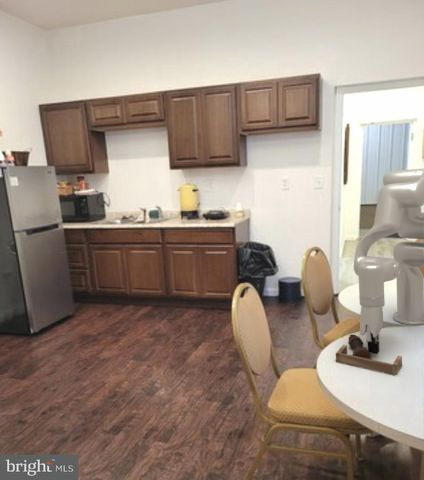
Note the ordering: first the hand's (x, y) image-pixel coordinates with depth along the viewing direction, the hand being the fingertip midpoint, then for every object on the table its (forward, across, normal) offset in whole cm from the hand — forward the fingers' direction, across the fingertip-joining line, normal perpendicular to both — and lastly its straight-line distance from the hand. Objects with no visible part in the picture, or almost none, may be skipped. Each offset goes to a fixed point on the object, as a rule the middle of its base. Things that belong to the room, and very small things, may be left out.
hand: (373, 352), depth 126 cm
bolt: (+2, 0, -5) cm, 5 cm away
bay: (+1, +6, 0) cm, 6 cm away
